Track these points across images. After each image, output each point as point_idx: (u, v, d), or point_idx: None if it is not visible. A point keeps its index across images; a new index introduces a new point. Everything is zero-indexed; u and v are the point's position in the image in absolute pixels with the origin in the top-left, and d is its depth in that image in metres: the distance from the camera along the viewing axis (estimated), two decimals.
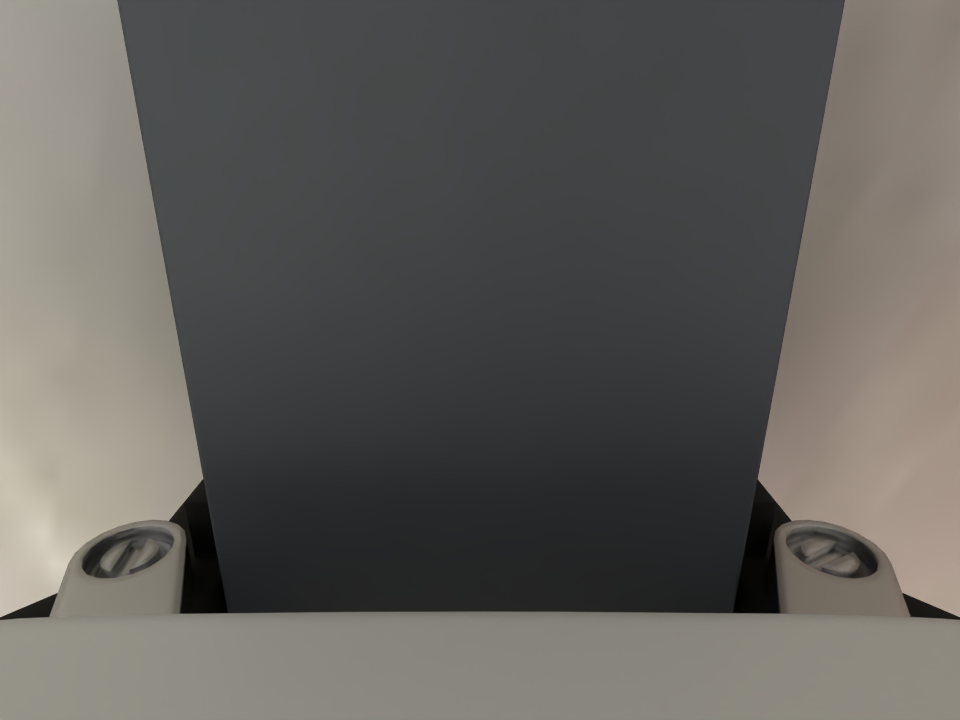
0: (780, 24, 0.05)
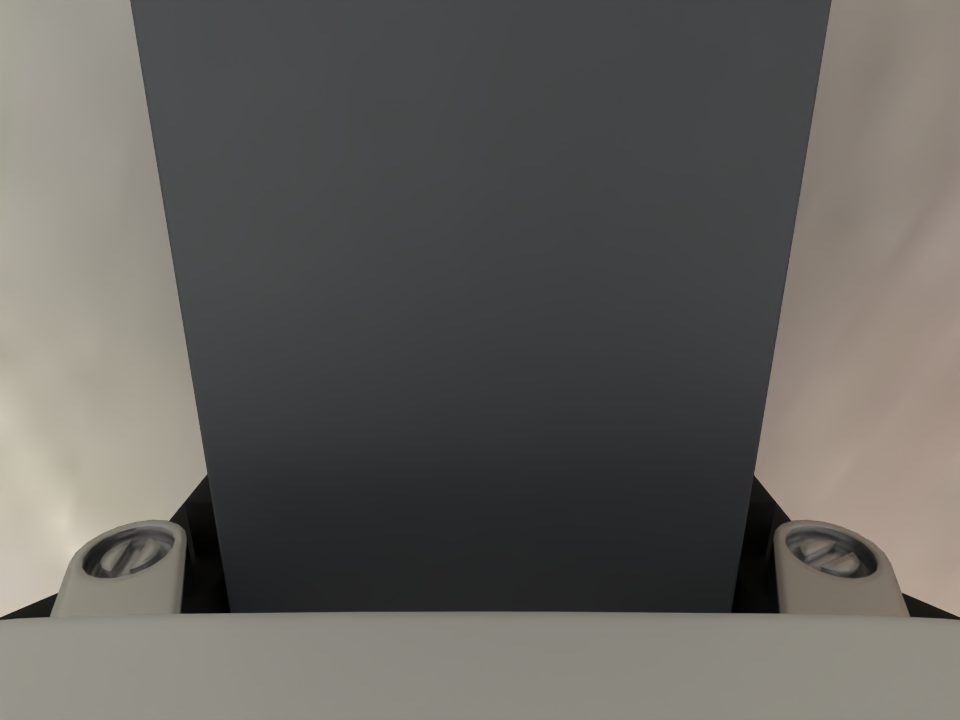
0: (769, 20, 0.05)
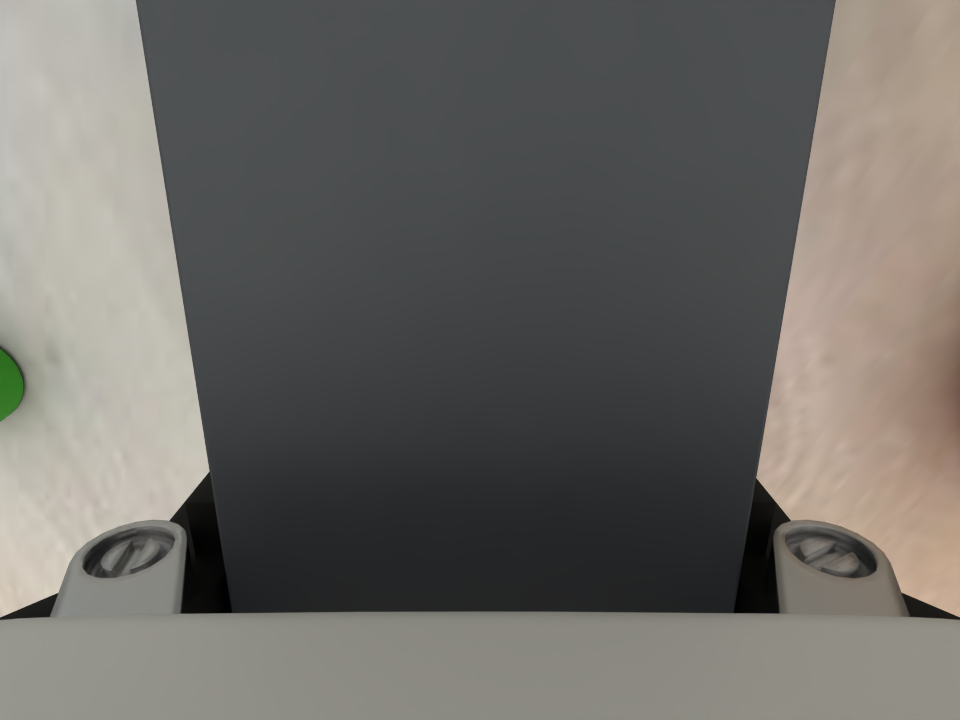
0: (773, 25, 0.05)
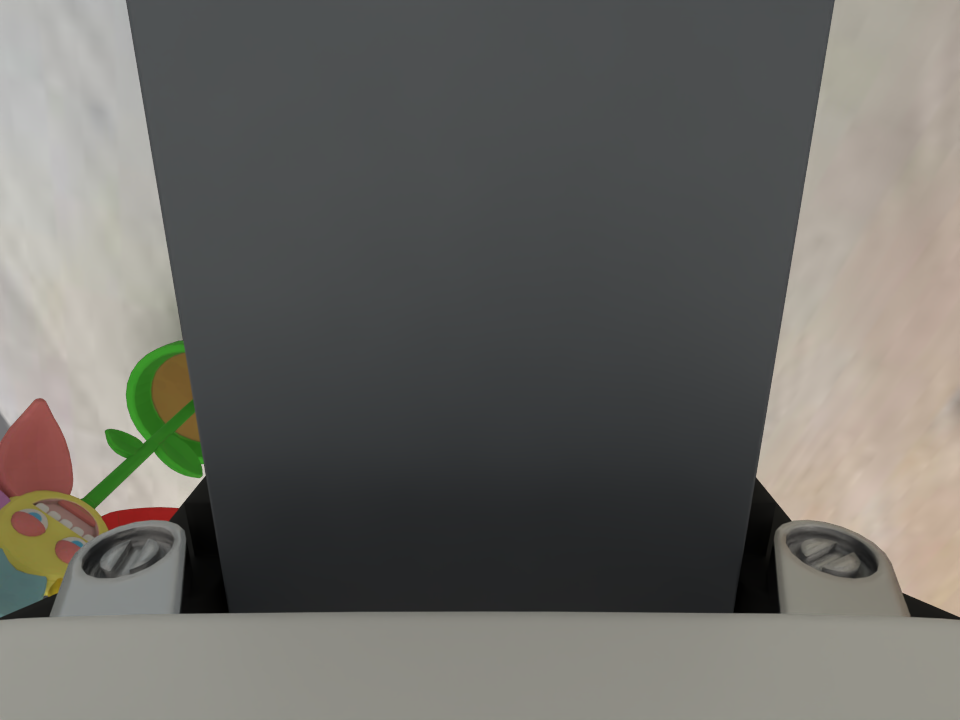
0: (770, 31, 0.05)
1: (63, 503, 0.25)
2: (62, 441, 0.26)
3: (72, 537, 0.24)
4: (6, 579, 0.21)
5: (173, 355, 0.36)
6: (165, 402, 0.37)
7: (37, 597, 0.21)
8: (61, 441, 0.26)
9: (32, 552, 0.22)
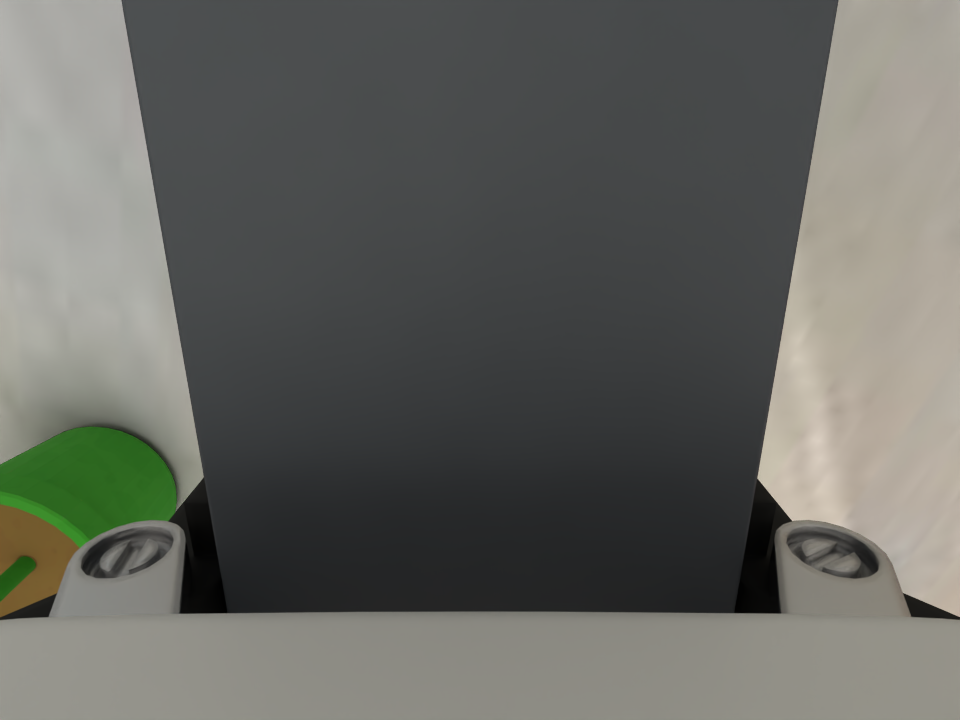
0: (774, 32, 0.05)
1: None
2: None
3: None
4: None
5: None
6: None
7: None
8: None
9: None
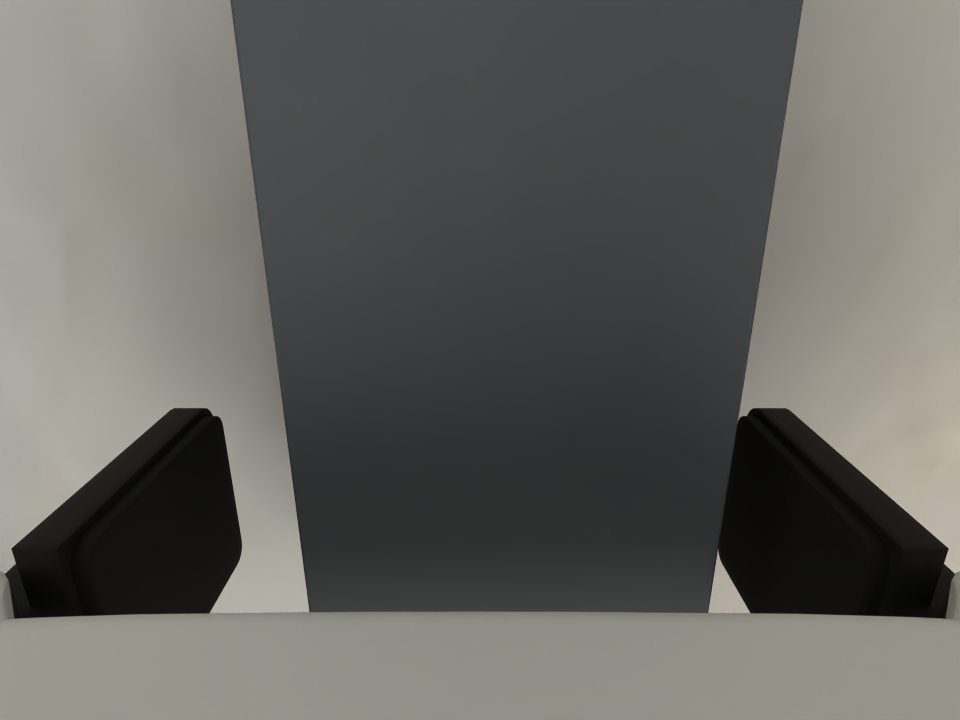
0: (749, 43, 0.06)
1: None
2: None
3: None
4: None
5: None
6: None
7: None
8: None
9: None
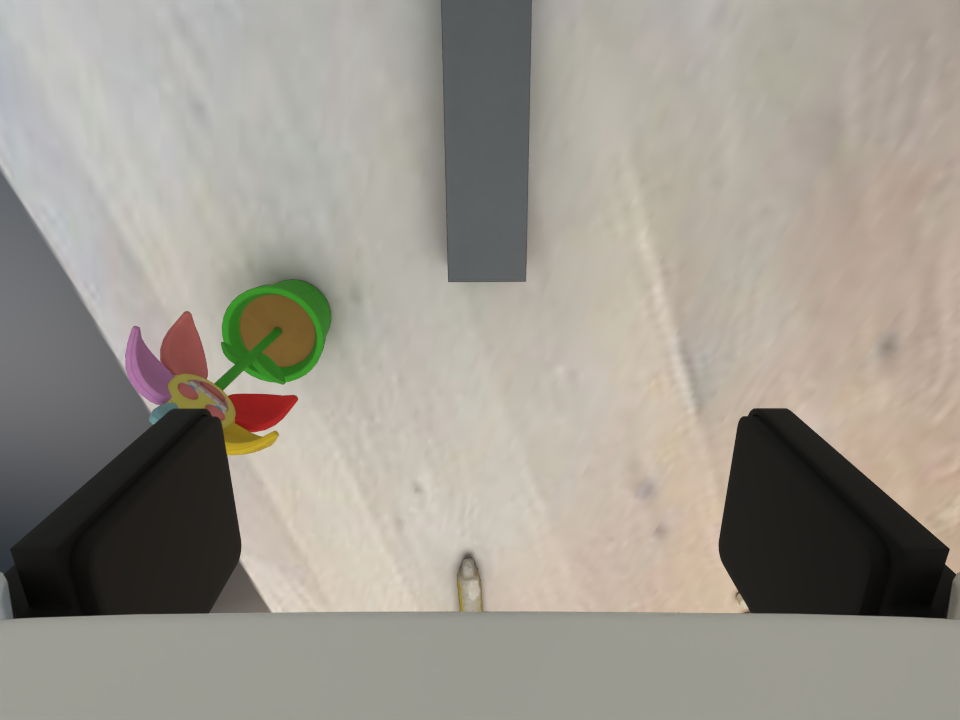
0: (521, 125, 0.42)
1: (204, 384, 0.36)
2: (199, 343, 0.37)
3: (214, 404, 0.35)
4: None
5: (257, 297, 0.47)
6: (249, 334, 0.48)
7: None
8: (199, 343, 0.37)
9: None
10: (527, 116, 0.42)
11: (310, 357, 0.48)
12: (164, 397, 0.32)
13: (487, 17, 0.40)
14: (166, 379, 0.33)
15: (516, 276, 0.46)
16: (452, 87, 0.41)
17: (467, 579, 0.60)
